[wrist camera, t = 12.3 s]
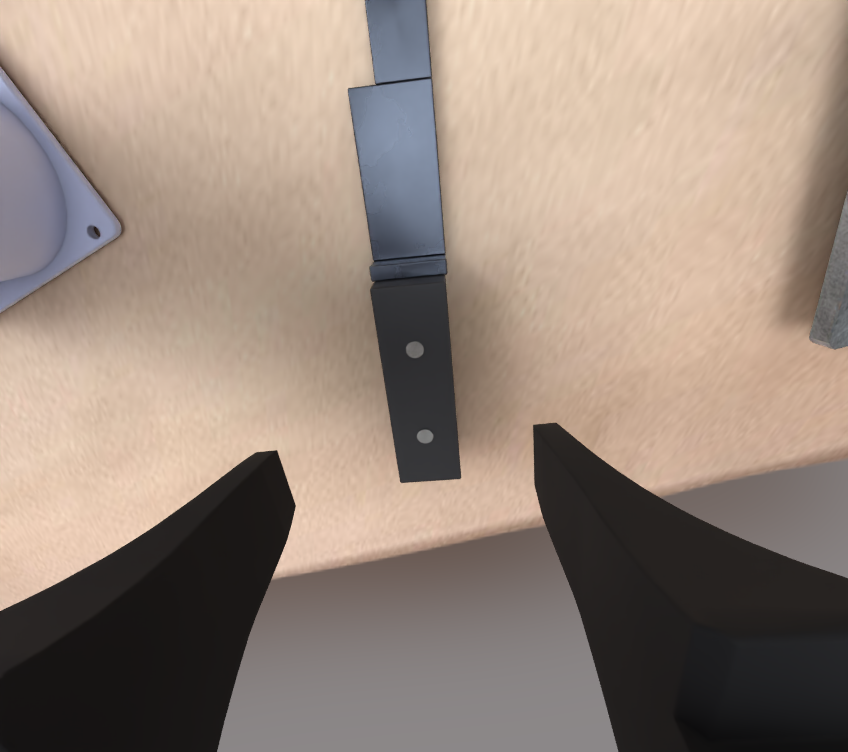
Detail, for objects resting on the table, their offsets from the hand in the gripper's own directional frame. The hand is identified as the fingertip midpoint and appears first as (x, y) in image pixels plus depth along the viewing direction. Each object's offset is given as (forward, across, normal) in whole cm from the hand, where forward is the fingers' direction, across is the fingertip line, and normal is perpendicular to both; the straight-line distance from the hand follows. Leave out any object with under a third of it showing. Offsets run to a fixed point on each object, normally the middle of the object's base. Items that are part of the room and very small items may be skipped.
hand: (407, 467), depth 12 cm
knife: (+8, 0, -4) cm, 10 cm away
